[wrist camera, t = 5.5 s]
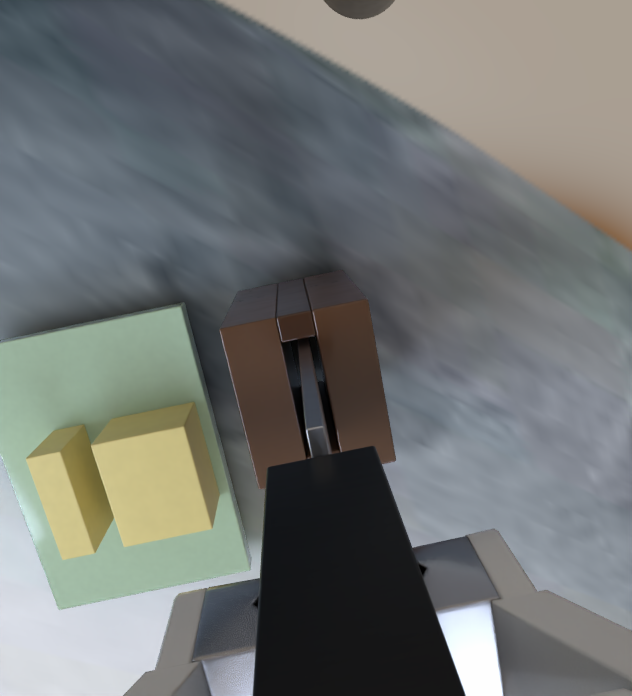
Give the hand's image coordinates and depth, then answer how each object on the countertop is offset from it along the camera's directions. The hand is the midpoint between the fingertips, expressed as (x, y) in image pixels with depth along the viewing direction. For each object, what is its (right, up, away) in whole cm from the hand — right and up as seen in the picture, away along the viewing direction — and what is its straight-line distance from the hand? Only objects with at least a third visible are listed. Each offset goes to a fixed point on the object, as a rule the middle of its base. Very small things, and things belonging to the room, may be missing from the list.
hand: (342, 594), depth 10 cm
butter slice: (-11, -2, +18) cm, 21 cm away
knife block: (-1, +4, +18) cm, 18 cm away
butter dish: (-10, -1, +19) cm, 21 cm away
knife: (-1, +3, +11) cm, 11 cm away
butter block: (-8, -1, +18) cm, 19 cm away
